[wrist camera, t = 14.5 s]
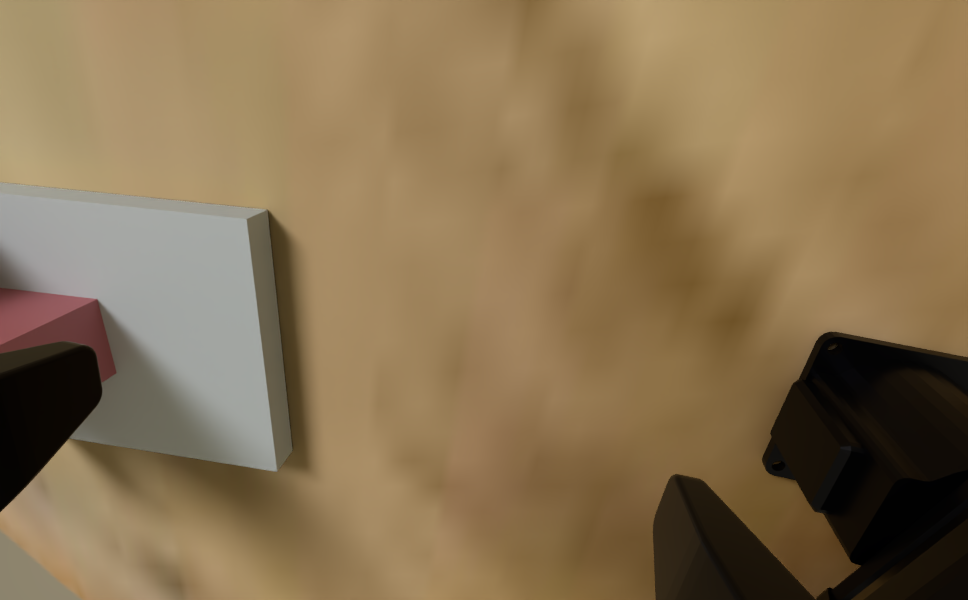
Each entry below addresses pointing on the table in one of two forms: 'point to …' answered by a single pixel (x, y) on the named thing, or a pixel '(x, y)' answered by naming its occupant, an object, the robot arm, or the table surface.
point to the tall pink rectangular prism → (53, 323)
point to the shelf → (164, 316)
